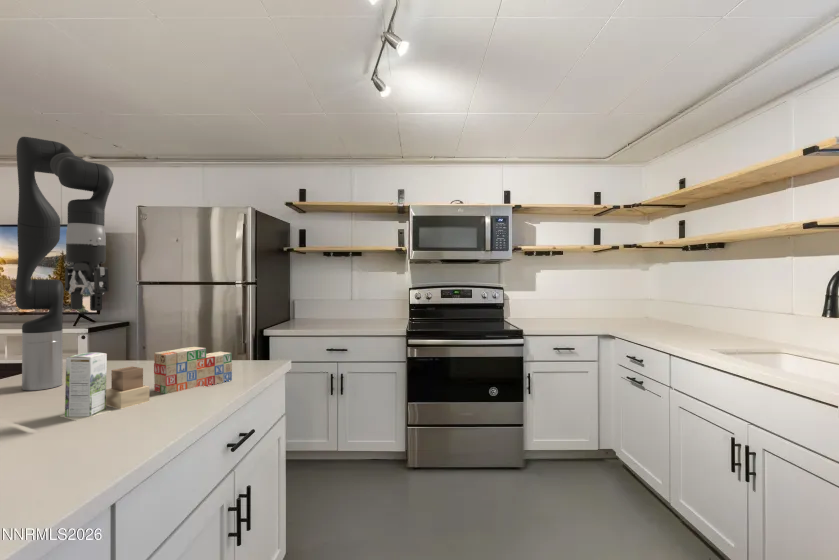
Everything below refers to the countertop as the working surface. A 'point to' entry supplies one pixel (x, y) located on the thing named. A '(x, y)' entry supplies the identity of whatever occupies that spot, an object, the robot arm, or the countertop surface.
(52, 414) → the countertop surface
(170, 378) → the stack of blocks
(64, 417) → the pale flat slab
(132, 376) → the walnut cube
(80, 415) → the syrup box
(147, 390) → the maple block
